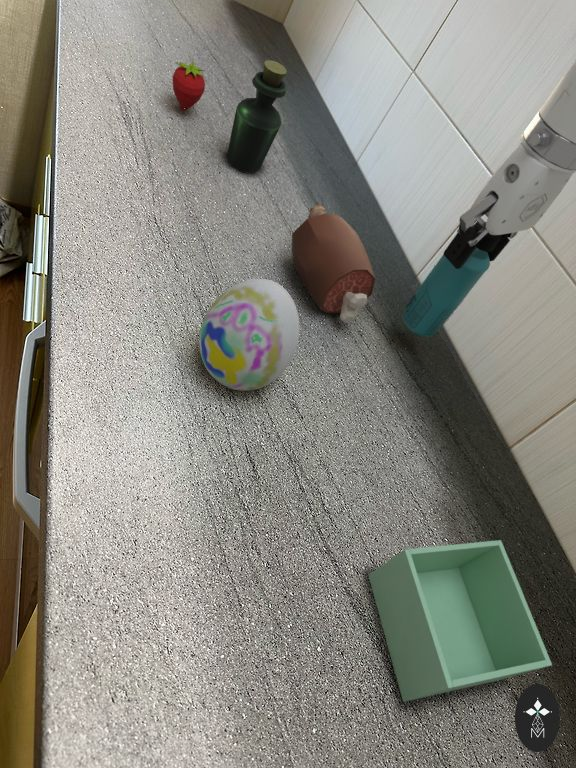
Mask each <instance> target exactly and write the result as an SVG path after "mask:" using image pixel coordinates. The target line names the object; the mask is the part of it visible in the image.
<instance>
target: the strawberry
mask: <svg viewBox="0 0 576 768" xmlns="http://www.w3.org/2000/svg"><path fill="white" fill-rule="evenodd" d="M189 58H190V60H191V61H192V62H191V63H189V65H188V64H187V63H183V62H181V61H180V62H175V65H178V67H177V68H175V70H174V72H173V74H172V77H171V78H172V90H173V93H174V95H175V98H176V100H177V103H178V105H179V107H180V110H182V111H183V112H187V111H188V110H189V109H190V108H192V107H194V106H195V105H196V104H197V103H198V102H199V101H200V100H201V98H202V97H203V95H204V93H205V90H206V80H205V78H204V77H205V76H204V75H203V74H202V73H201V72H206V70H204V69H202V68H200V67H197V66H195V62H194V60H193V58H192V56H189ZM184 108H185V109H184Z"/></svg>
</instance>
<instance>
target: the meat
mask: <svg viewBox="0 0 576 768" xmlns="http://www.w3.org/2000/svg"><path fill="white" fill-rule="evenodd" d="M326 211H327V210H326V209H325V208H324V207H323V206H321V205H320V204H318V205H315V206H313V207H311V208H310V209H309V212H308V218H306V219H305V220H304V221H303V222H302V223H301V224H300V225H299V226H298V227H297V228H296V229H295V230H294V231H293V232H292V233H291V254H292V260H293V266H294V269H295V271H296V273H297V275H298V278H299V279H300V281H301V283H302V285H303V286H304V288H305V289H306V291H307V292H308V294H309V295H310V296H311V298H312V299H313V301H314V302H315V303H316V305H317V306H318V308H319V309H320V310H322V311H323V312H325V313H326V314H339V319H340V320H341V321H342V322H344V323H346V324H348V323H350V322H353V321H356V320H357V317H358V314H359V310H360V309H362V308H363V307H365V306H366V305H367V304H368V298H370V297H371V296H372V294H373V291H374V286H375V281H376V277H375V273H374V271H373V266H372V264H371V261H370V259H369V256H368V254H367V251H366V249H365V245H364V244H363V243H362V240H361V238H360V236H359V235H358V233H357V231H356V230H354V229H353V227H352V226H351V225H350V224H349V223H347V221H346V220H344V219H343V218H342V217H341V216H340V215H339V214H333V213H332V214H331V213H326Z"/></svg>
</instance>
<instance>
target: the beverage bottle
mask: <svg viewBox="0 0 576 768" xmlns="http://www.w3.org/2000/svg"><path fill="white" fill-rule="evenodd" d="M473 228H474V229H475V234H476V233H477V232H479V231H480V230H481V229H482V228H483V227H482V226H481V225H480V224H479V223H478V222H477V221H476V222H475V223H474V226H473ZM500 238H501V235H491V234H490V233H489V232H488V233H487V234H486V235H485V236H484V237H483V238H482V239H481V240H480V241H478V242H477V243H476V244H475V246H476V247H477V248H476V249H475V250H474V252H473V253H472V254H471V256H470V257H469V258H468V260H467V261H466V262H465V263H464V265H463V266H462V267H461V268H460V269H456V268H455V267H454V266H453V265H452V264H451V263H450V261H449V260H448V259H447V258H446V257H445V256H444V253H443V254H442V256H441V257H440V258H439V260H438V261H437V262H436V263H435V264H434V266H433V267H432V269H431V270H430V271H429V272H428V274H427V276H426V277H425V278H424V280H423V281H422V282H421V284H420V285H419V287H418V288H417V290H416V291H415V292H414V293H413V295H412V296H411V297H410V300H409V301H408V302H407V303H406V305H405V307H404V308H403V311H402V320H403V322H404V324H405V326H406V327H407V328H408V329H409V330H410V331H411V332H413V333H414V334H416V335H418V336H421V337H425V338H429V337H430V338H431V337H432V336H434V335H437V334H438V333H439V332H440V331H441V330H442V328H443V327H444V326H445V324H446V323H447V322H448V321H449V319H450V318H451V317H452V315H453V314H454V312H455V311H457V310H458V308H459V307H460V306H461V304H462V303H463V302H464V301H465V299H466V298H467V297H468V295H469V293H470V292H471V290H472V289H473V288H474V287H475V285H476V284H477V283H478V282H479V281H480V279H481V278H482V277H483V276H484V274H485V273H486V272H487V271H488V270H489V268H490V266H491V261H490V260H489V256H488V253H487V252H491V251H492V250H493V249H494V248H495V246H496V244H497V243H498V241H499V240H500Z"/></svg>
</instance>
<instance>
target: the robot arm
mask: <svg viewBox="0 0 576 768" xmlns="http://www.w3.org/2000/svg"><path fill="white" fill-rule="evenodd" d="M575 173H576V58H575V59H574V61H573V62H572V63H571V65H570V66H569V68H568V69H567V70H566V72H565V73H564V74H563V76H562V77H561V79H560V80H559V82H558V83H557V85H556V86H555V87H554V89H553V90H552V91H551V93H550V94H549V96H548V97H547V99H546V100H545V102H544V103H543V104H542V106H541V107H540V108H539V110H538V112H537V113H536V114H535V116H534V117H533V119H532V120H531V121H530V123H529V124H528V126H527V127H526V128H525V130H524V131H523V133H522V134H521V135H520V142H519V143H518V145H517V146H515V148H514V149H513V150H512V151H511V152H510V153H509V154H508V155H507V157H506V158H505V159H504V160H503V162H502V163H501V164H500V165H499V167H498V168H497V169H496V170H495V171H494V172H493V174H492V175H491V176H490V177H489V179H488V181H487V182H485V184H484V186H483V187H482V189H481V190H480V191H479V192H478V194H477V196H475V199H474V200H473V202H472V204H471V205H470V207H469V209H467V210H466V211H465V212H463V213H462V214H461V215H460V216H459V225H458V228H457V230H456V234H455V236H454V237H453V238H452V240H451V242H450V243H449V244H448V246H447V247H446V248H445V249H444V250H443V254H444V256H445V257H446V258H447V259H448V260H449V261H450V263H451V264H452V265H453V266H454V267H455V268H456V269H460V268H461V267H462V266H463V265H464V263H465V262H466V261H467V260H468V258H469V257H470V256H471V254H472V253H473V252H474V250H475V249H476V248H477V247H476V246H475V244H476V243H477V242H478V241H480V240H481V239H482V238H483V237H484V236H485V235H486V234H487V233H488V232H489V233H490V234H491V235H501V238H500V240H499V241H498V243H497V244H496V246H495V248H494V249H493V250H492V251H491V252H487V253H488V256H489V260H490V262H494V261H495V260H496V259H497V257H498V256H499V255H500V254H501V253H502V251H503V250H504V249H505V248H506V247H507V245H508V244H509V243H510V242H511V239H513V238H515V237H517V234H518V233H519V232H522V231H526V230H527V231H528V230H529V229H532V228H534V226H536V225H537V223H538V222H539V221H540V220H541V218H543V216H544V215H545V213H546V212H547V211H548V209H549V208H550V207H551V206H552V204H553V203H554V202H555V200H556V199H557V198H558V197H559V195H560V193H561V192H562V191H563V189H564V188H565V186H566V185H567V184H568V183H569V181H570V180H571V177H572V176H573V174H575ZM483 216H486V218H487V219H486V221H485V220H484V219H483V218H482V217H483ZM476 222H478V223H479V224H480V225H481V226H482V227H483V228H482V229H481V230H480V231H479V232H477V233H476V234H475V229H474V228H473V226H474V224H475V223H476Z"/></svg>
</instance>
